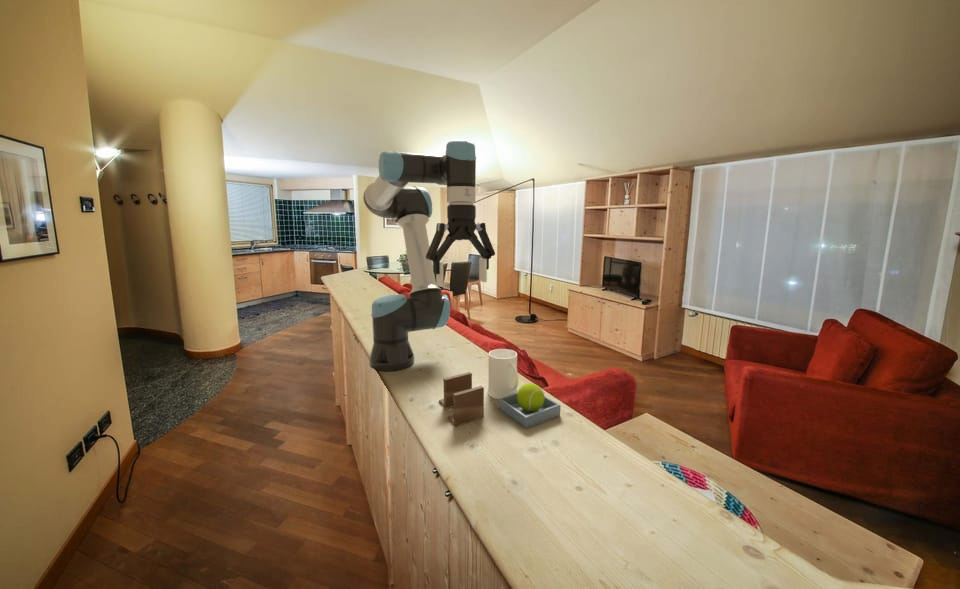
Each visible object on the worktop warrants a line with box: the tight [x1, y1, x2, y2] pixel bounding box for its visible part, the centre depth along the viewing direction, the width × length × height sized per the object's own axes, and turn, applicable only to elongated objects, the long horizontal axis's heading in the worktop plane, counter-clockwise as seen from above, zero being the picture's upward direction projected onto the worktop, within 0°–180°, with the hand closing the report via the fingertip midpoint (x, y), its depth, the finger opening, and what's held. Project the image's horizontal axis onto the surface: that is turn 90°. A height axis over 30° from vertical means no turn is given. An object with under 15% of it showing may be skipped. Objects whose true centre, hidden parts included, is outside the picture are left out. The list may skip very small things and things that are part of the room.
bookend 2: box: [447, 385, 485, 427], centre depth 93 cm, size 4×8×8 cm, turn 123°
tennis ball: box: [517, 382, 545, 412], centre depth 96 cm, size 7×7×7 cm
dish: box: [497, 392, 561, 430], centre depth 96 cm, size 11×11×3 cm
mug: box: [487, 348, 520, 400], centre depth 105 cm, size 12×8×12 cm
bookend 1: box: [438, 371, 473, 409], centre depth 102 cm, size 4×8×8 cm, turn 123°
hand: (462, 283), depth 103 cm, fingers open, 13 cm apart
